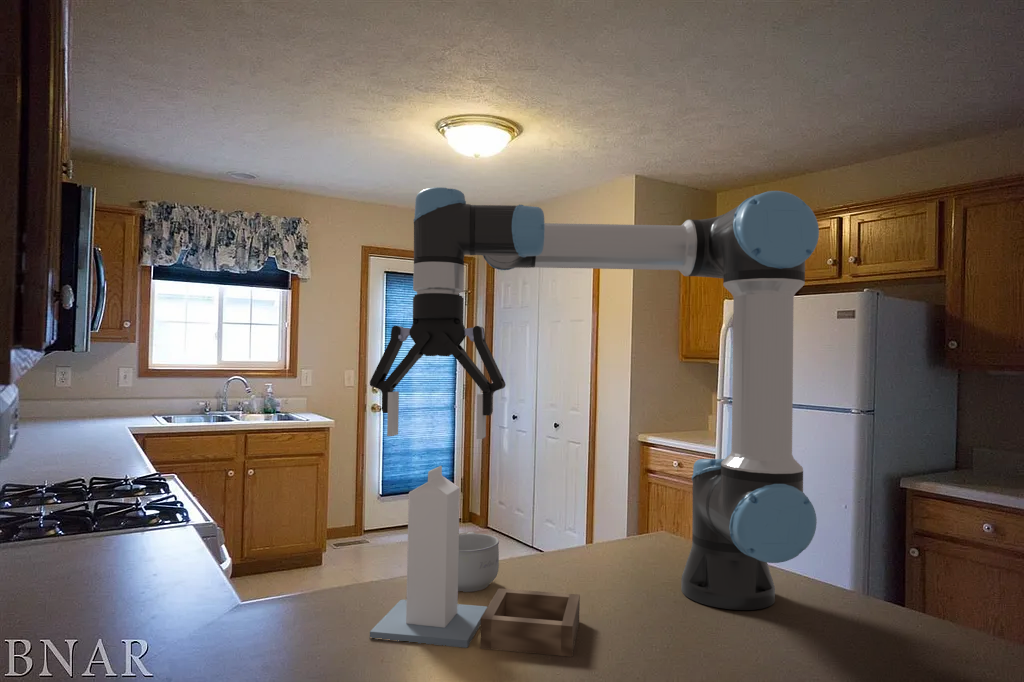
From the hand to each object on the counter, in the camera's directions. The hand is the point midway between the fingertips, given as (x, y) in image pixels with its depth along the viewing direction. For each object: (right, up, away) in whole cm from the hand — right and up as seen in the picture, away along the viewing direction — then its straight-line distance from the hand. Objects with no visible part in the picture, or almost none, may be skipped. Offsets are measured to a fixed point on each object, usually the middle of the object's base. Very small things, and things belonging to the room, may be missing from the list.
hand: (436, 436), depth 100 cm
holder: (+14, -28, -3) cm, 31 cm away
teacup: (+4, -29, +18) cm, 34 cm away
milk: (-1, -27, -1) cm, 27 cm away
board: (-1, -28, -1) cm, 28 cm away
